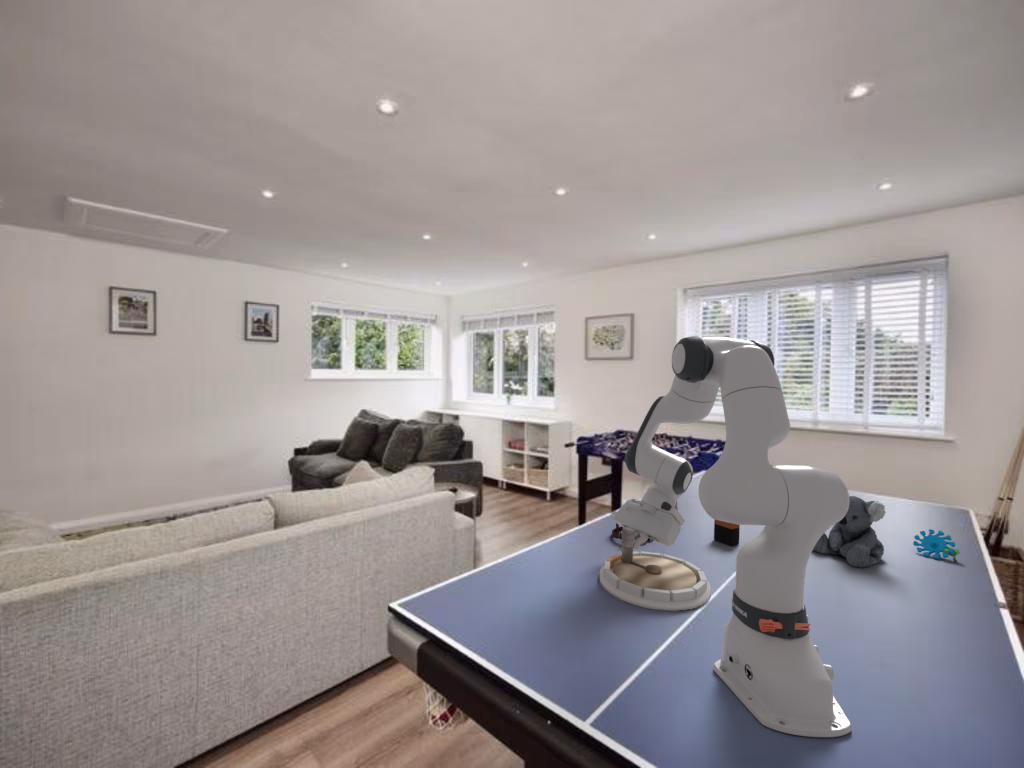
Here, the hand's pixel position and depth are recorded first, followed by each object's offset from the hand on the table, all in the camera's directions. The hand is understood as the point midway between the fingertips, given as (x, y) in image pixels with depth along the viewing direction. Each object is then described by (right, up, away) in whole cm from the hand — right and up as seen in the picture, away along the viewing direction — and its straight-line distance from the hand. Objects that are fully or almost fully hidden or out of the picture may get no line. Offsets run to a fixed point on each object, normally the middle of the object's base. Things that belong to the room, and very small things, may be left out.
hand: (631, 546), depth 132 cm
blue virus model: (+99, -9, +15) cm, 101 cm away
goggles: (+7, -7, +27) cm, 29 cm away
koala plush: (+72, -8, +14) cm, 74 cm away
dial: (+4, -5, -8) cm, 10 cm away
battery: (+38, -7, +24) cm, 45 cm away
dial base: (+4, -7, -8) cm, 11 cm away
